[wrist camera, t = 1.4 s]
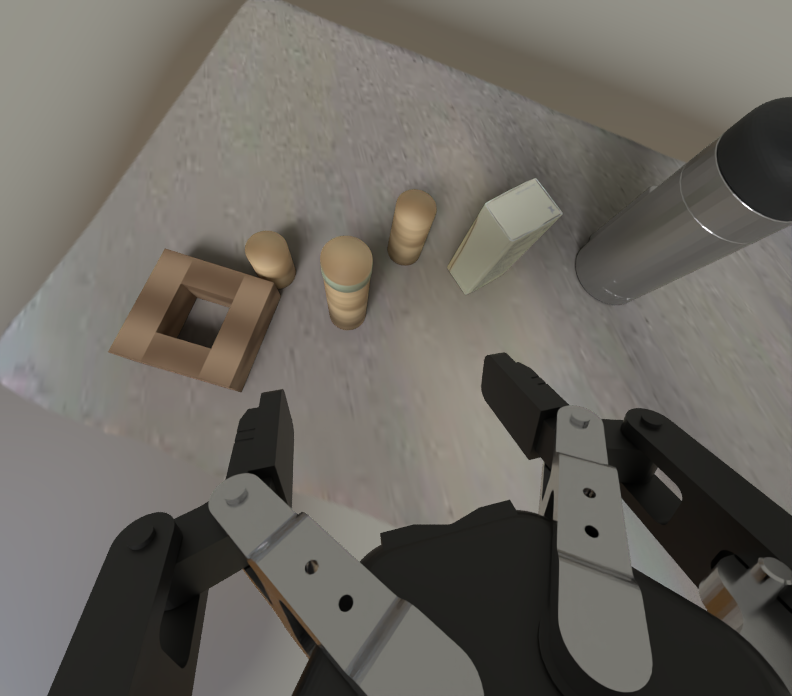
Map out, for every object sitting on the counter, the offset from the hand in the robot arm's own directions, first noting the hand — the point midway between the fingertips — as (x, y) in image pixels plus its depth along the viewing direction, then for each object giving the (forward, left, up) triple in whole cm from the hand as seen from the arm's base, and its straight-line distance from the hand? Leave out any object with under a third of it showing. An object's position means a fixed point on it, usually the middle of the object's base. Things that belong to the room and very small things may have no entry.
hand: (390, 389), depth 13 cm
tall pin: (-10, -5, -22) cm, 25 cm away
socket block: (-4, -18, -22) cm, 29 cm away
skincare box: (-20, +8, -23) cm, 31 cm away
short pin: (-13, -14, -22) cm, 29 cm away
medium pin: (-20, -1, -22) cm, 30 cm away
